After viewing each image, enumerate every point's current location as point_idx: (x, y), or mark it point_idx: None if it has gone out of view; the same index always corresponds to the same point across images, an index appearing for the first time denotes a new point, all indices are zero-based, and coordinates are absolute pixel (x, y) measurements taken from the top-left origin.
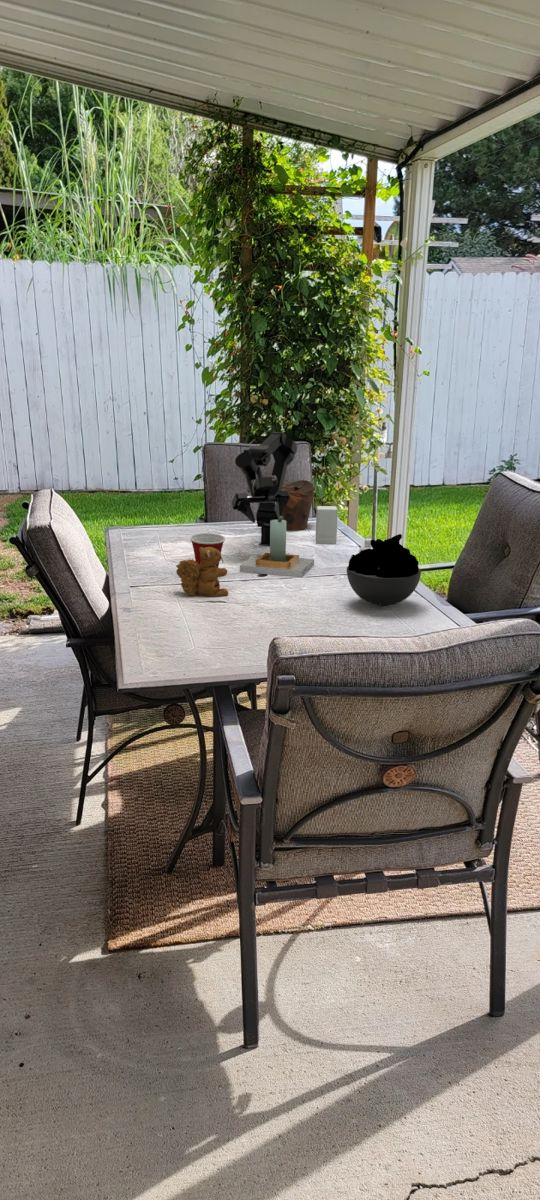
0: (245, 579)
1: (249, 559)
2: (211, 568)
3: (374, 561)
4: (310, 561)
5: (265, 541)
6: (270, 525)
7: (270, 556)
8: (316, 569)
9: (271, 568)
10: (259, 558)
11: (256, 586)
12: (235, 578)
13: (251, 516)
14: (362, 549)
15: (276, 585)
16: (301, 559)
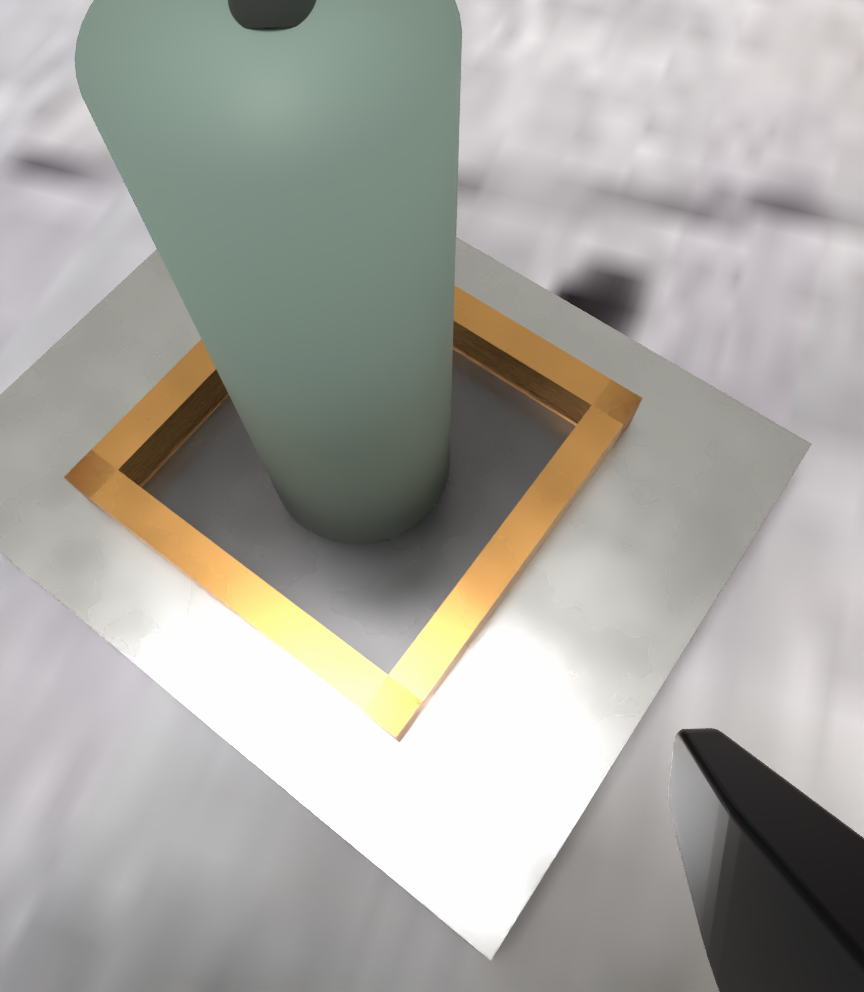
0: (775, 231)
1: (640, 679)
2: None
3: None
4: (13, 396)
5: None
6: (457, 136)
7: (450, 425)
8: (30, 357)
9: (513, 272)
10: (580, 457)
11: (727, 59)
12: (857, 278)
13: (845, 831)
14: None
15: (574, 47)
16: (48, 504)
